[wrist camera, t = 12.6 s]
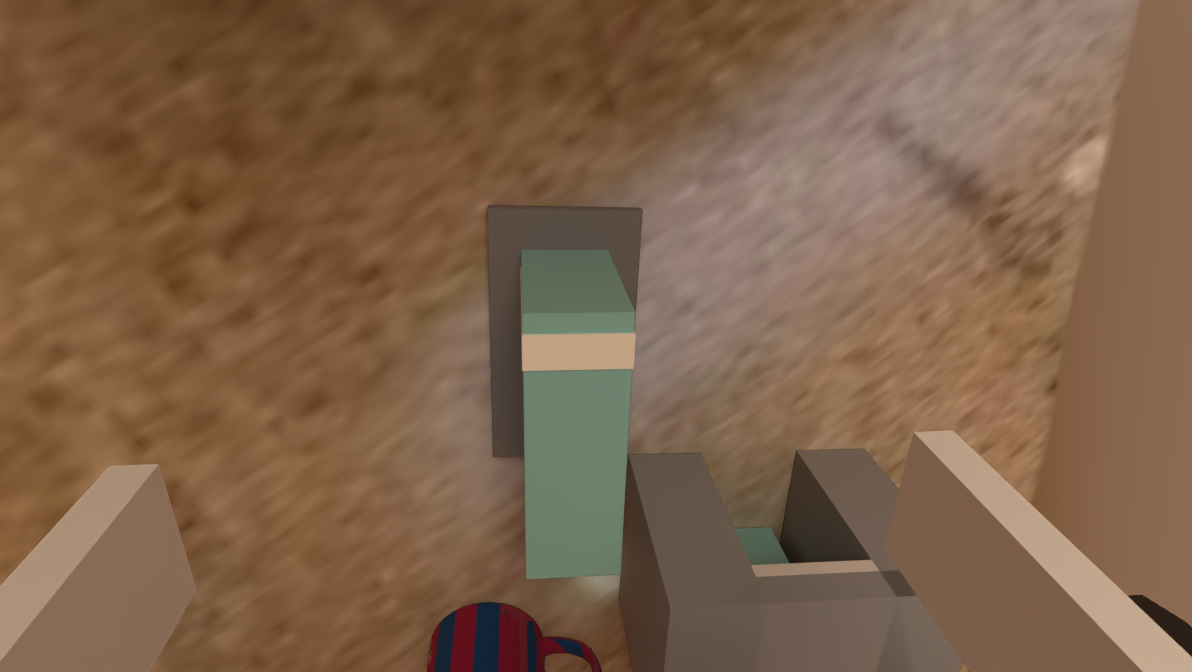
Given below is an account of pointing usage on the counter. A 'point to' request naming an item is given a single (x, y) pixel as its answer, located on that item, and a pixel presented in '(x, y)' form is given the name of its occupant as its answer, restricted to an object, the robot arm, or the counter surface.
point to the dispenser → (770, 575)
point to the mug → (496, 642)
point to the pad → (505, 243)
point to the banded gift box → (574, 410)
